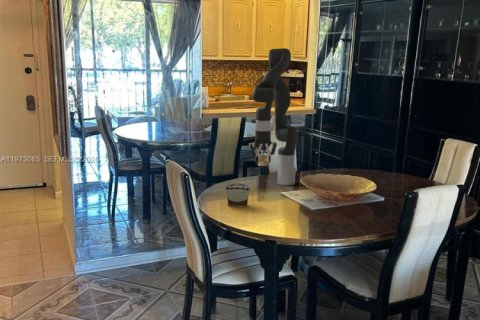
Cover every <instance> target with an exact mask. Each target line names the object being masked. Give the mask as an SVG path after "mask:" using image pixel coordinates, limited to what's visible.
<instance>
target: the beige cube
mask: <svg viewBox="0 0 480 320" xmlns="http://www.w3.org/2000/svg"><path fill="white" fill-rule="evenodd" d="M257 166H259V167H267V166H270V162H269V155H268V154H267V152H264V153H259V154H258V164H257Z"/></svg>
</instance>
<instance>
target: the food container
mask: <svg viewBox="0 0 480 320" xmlns="http://www.w3.org/2000/svg"><path fill="white" fill-rule="evenodd" d="M224 191H226V193H225V194H226V200H227V201H226V202H227V206H228V207H240V206H241V207H244V208H245V207H246V208H247V207H248V201H249V193H250V191H251V188H250V186H249V185H248V184H246V183H241V182H239V183H238V182H236V183H230V184H227V185H225V188H224ZM241 207H240V208H241Z"/></svg>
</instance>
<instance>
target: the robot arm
mask: <svg viewBox="0 0 480 320" xmlns="http://www.w3.org/2000/svg"><path fill="white" fill-rule="evenodd" d="M291 59H292V54H291V51H290V49H288V48H286V47H285V48H284V47H282V48H272V49H269V51H268V64H269V70H268V71H266V72H265V74H264V76H263V78H262V81H260V82H259V83H258V85H256V86H255V88H254V89H253V91H252V94H251V95H252V100H253V101H254V102H255V103H260V104H261V103H263V104H264V103H265V105H264V106H261V107H257V108H256V109H255V126H254V127H255V131H254V132H255V133H254V142H249V143H248V147H249V150H250V154H251V155H252V156H254V162H255V164H256V165H258V154H260V152H261V151H266V152H265V153H267V154H268V155H269V163H271V158H272V156H274V155H275V154H276V150H277V149H276V148H277V145H278V143H277V142H275V141H274V142H273V141H272V140H271V137H272V136H271V135H272V132H271V131H272V124H271V118H272V117H271V116H272V115H271V113H272V106H274V120H275V121H274V123H275V124H274V125H275V126H274V127H275V128H274V129H275V130H274V133H275V138H276V140H277V141H278V142H283V143H285V146H283V147H280V148H278V151H277V153H278V154H277V179H276V180H277V184H278V185H281V186H292V185H295V184H296V167H295V155H296V153H295V152H296V149H297V136H298V134H297V133H298V131H297V128H296V127H295V126H293V125H286V123H285V118H286V117H285V116H286V114H287V111H288V109H290V106H291V102H292V100H291V99H292V97H291V90H290V88H289V87H290V86H288V84H287V83H286V82H285V80H284V78H283V77H282V75H283V73H284V72H285V71H286V70H287V68H288V67H289V65H290V64H291ZM273 104H274V105H273ZM255 146H256V148H255V150H254V147H255ZM270 146H271V150H270Z"/></svg>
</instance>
